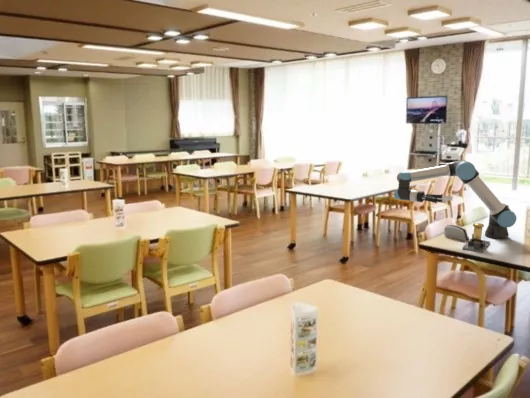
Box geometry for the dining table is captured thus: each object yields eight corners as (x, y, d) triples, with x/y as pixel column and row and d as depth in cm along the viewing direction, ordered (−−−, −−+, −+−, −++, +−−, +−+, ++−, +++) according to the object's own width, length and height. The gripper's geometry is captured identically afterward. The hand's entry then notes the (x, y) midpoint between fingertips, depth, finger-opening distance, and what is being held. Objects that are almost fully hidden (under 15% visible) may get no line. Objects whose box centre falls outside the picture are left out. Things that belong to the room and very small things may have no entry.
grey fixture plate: (470, 240, 330) (471, 233, 329) (489, 243, 323) (490, 235, 322) (462, 249, 307) (463, 241, 306) (482, 252, 301) (483, 244, 300)
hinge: (469, 239, 333) (467, 226, 329) (465, 242, 331) (463, 229, 327) (448, 234, 346) (446, 222, 343) (444, 237, 344) (442, 224, 341)
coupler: (480, 243, 317) (482, 223, 315) (482, 245, 312) (485, 225, 309) (470, 243, 318) (472, 222, 316) (472, 245, 313) (474, 224, 310)
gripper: (421, 199, 341) (453, 202, 330) (411, 204, 321) (445, 208, 309) (422, 188, 340) (454, 191, 329) (412, 192, 319) (446, 196, 308)
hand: (450, 199), depth 319 cm, fingers open, 13 cm apart
